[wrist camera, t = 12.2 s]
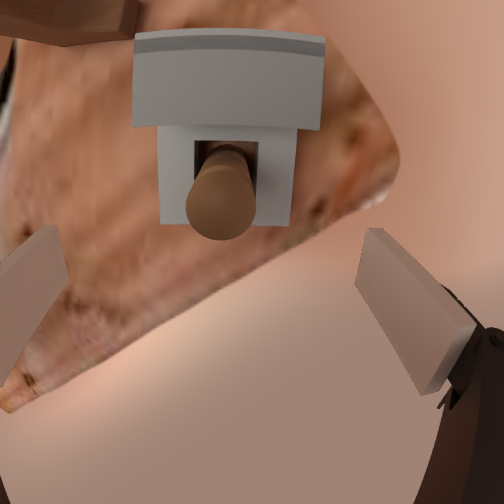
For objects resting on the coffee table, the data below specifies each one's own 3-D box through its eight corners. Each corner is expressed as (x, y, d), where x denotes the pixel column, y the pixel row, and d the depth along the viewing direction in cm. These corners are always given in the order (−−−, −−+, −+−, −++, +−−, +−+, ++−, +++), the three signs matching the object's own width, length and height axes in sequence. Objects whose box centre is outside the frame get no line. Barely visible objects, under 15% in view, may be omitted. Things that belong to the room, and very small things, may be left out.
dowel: (206, 182, 31) (186, 239, 18) (206, 144, 29) (184, 173, 16) (245, 183, 31) (254, 241, 18) (247, 144, 29) (258, 174, 17)
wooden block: (141, 1, 21) (58, -76, 5) (134, 39, 23) (33, -13, 7) (67, 12, 20) (-43, -25, 4) (59, 47, 22) (-61, 32, 6)
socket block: (168, 210, 32) (141, 259, 22) (168, 57, 24) (135, 33, 15) (282, 212, 32) (304, 262, 23) (293, 60, 25) (325, 37, 15)
